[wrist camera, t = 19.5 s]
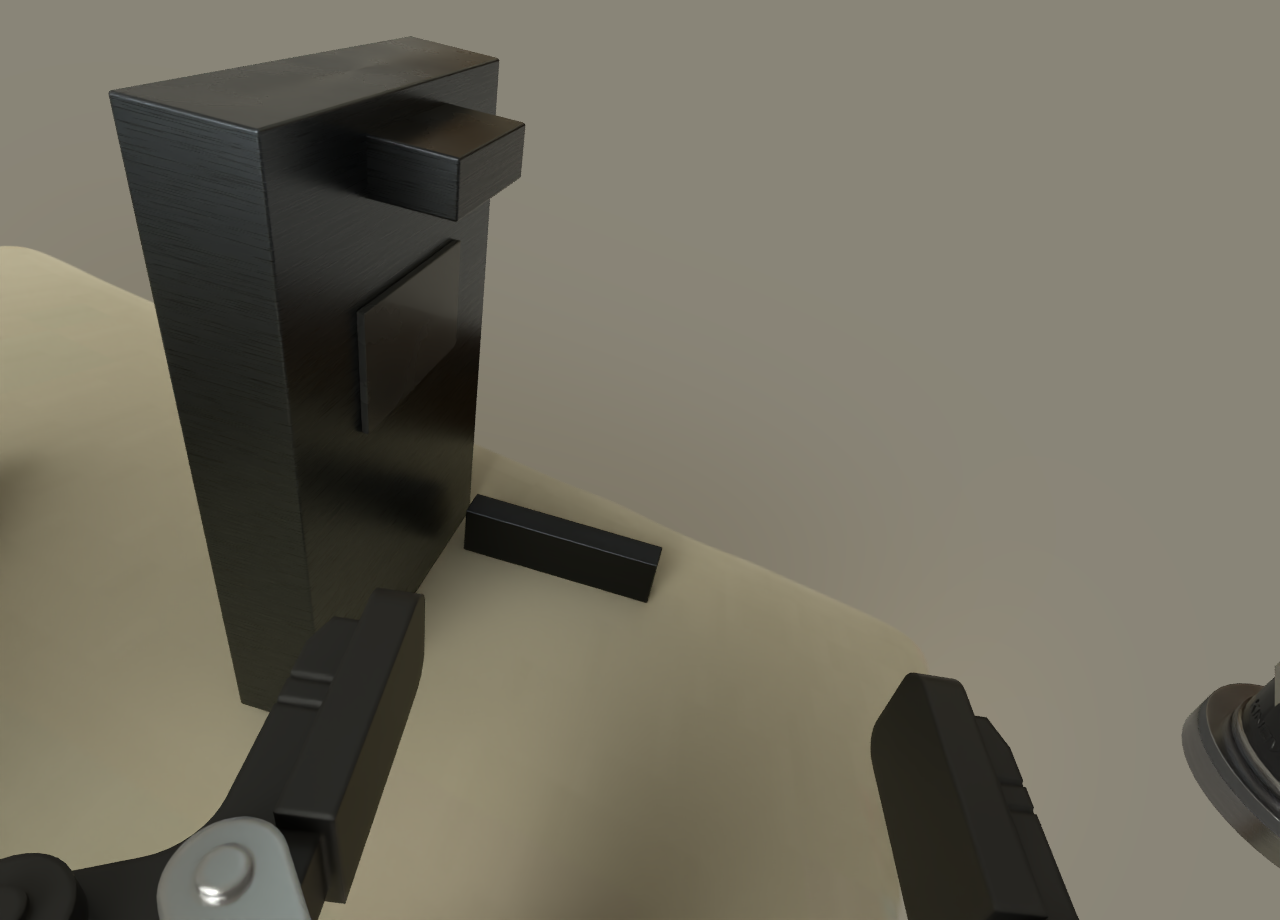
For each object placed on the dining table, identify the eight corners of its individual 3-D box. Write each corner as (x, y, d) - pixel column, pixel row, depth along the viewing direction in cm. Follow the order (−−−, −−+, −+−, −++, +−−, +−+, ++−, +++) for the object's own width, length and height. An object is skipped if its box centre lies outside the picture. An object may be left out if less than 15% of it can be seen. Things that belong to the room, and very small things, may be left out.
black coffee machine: (657, 564, 44) (780, 128, 30) (586, 813, 31) (743, 256, 17) (408, 492, 45) (409, 35, 31) (240, 703, 32) (106, 90, 18)
